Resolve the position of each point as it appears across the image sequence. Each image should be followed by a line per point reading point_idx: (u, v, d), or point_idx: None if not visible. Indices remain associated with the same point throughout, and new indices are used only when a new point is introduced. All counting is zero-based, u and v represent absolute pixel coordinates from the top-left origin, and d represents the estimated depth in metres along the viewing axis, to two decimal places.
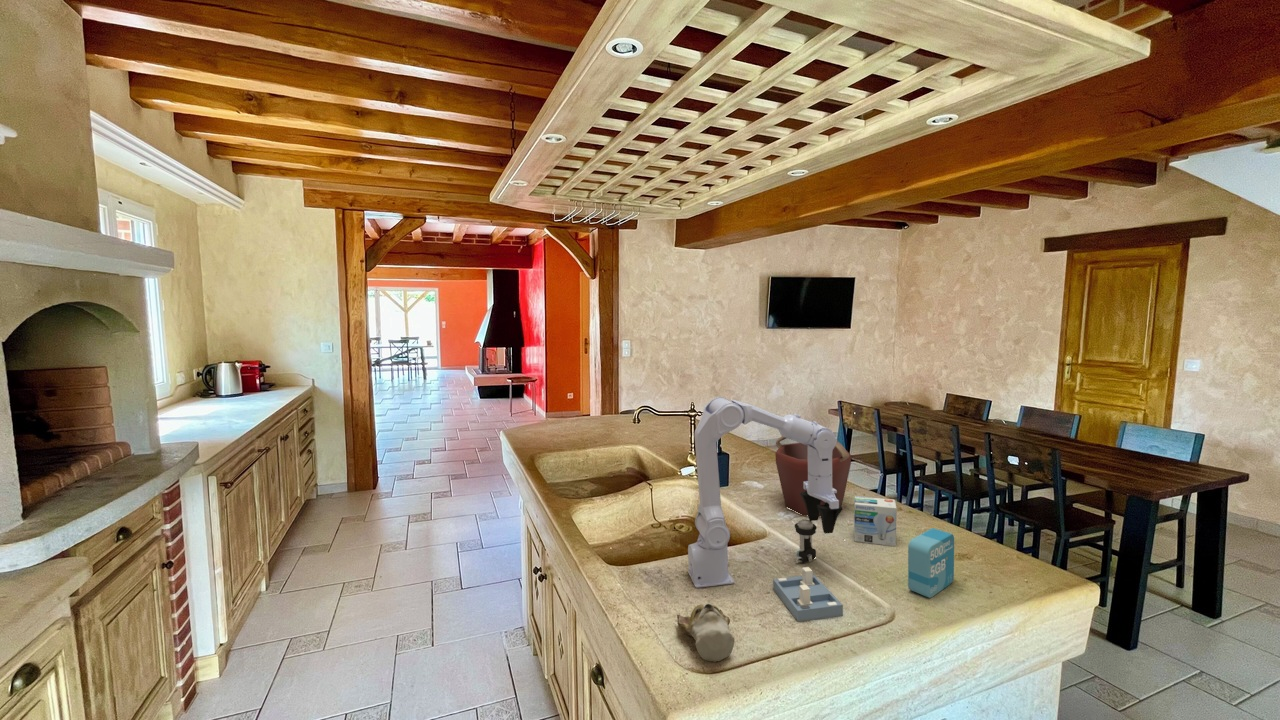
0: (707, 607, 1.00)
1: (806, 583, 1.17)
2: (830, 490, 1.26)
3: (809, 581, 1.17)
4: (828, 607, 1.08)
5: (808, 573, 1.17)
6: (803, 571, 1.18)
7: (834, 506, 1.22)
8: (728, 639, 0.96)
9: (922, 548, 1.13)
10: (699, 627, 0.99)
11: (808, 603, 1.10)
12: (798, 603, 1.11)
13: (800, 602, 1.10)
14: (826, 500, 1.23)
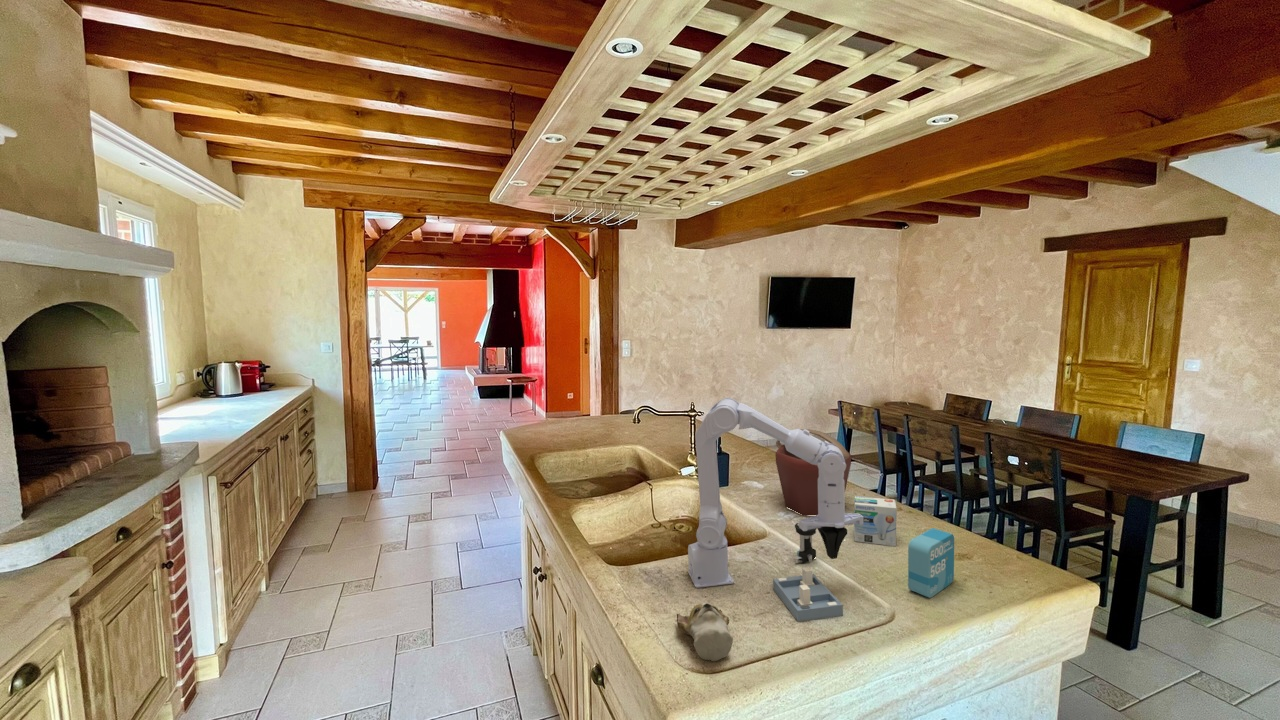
0: (706, 607, 1.00)
1: (806, 583, 1.17)
2: (824, 518, 1.16)
3: (809, 581, 1.17)
4: (828, 607, 1.08)
5: (808, 573, 1.17)
6: (803, 571, 1.18)
7: (801, 526, 1.17)
8: (726, 639, 0.96)
9: (922, 548, 1.13)
10: (697, 626, 0.99)
11: (808, 603, 1.10)
12: (798, 603, 1.11)
13: (800, 602, 1.10)
14: None
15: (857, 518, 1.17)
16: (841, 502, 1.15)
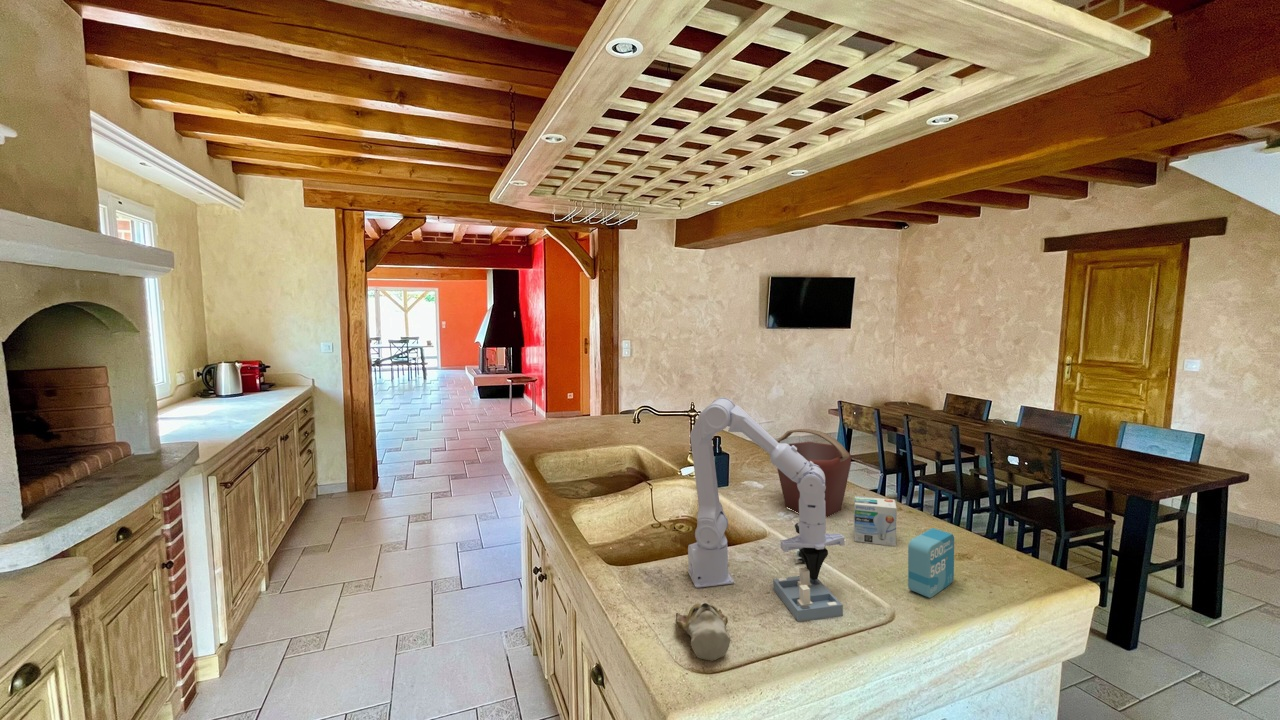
0: (704, 607, 1.01)
1: (803, 583, 1.17)
2: (805, 539, 1.16)
3: (806, 581, 1.17)
4: (828, 607, 1.08)
5: (805, 573, 1.17)
6: (800, 571, 1.18)
7: (781, 547, 1.17)
8: (723, 639, 0.96)
9: (922, 548, 1.13)
10: (695, 626, 0.99)
11: (808, 603, 1.10)
12: (798, 603, 1.11)
13: (800, 602, 1.10)
14: None
15: (838, 539, 1.17)
16: (822, 523, 1.15)
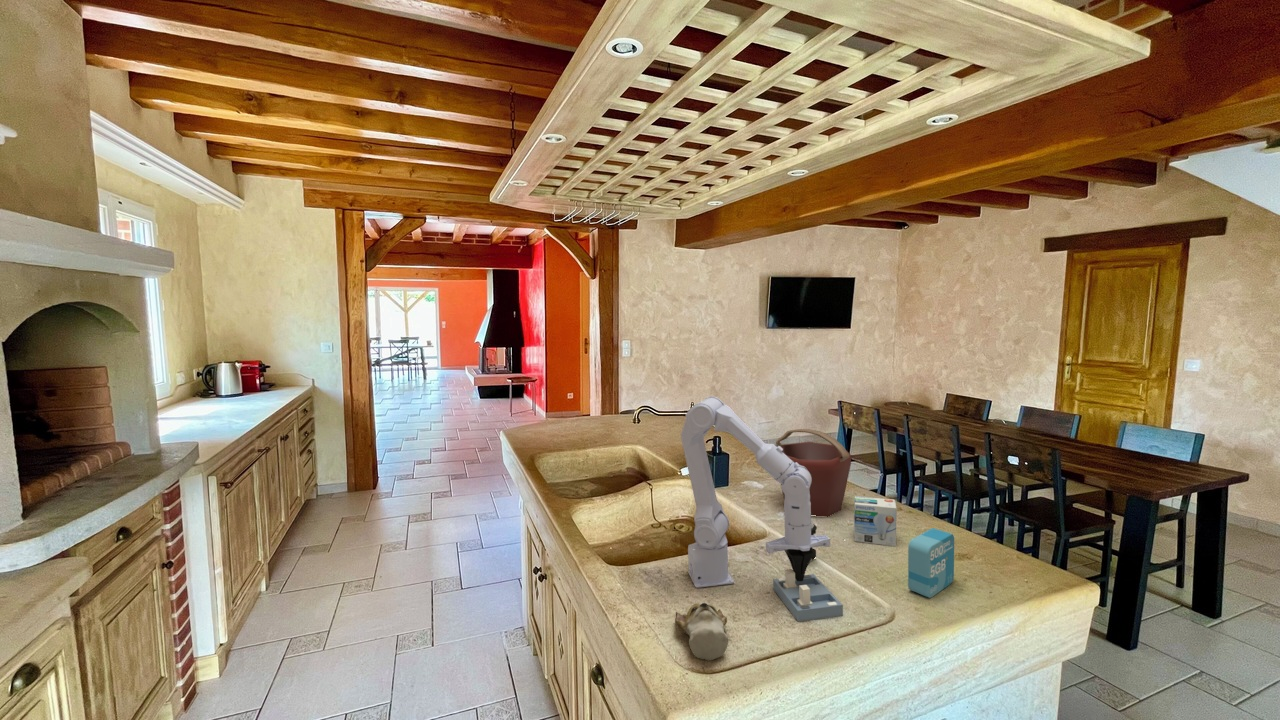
0: (703, 606, 1.01)
1: (789, 585, 1.17)
2: (790, 540, 1.15)
3: (792, 583, 1.17)
4: (828, 607, 1.08)
5: (791, 575, 1.16)
6: (786, 573, 1.18)
7: (767, 548, 1.16)
8: (721, 639, 0.96)
9: (922, 548, 1.13)
10: (693, 625, 0.99)
11: (808, 603, 1.10)
12: (798, 603, 1.11)
13: (800, 602, 1.10)
14: None
15: (823, 541, 1.16)
16: (807, 525, 1.14)
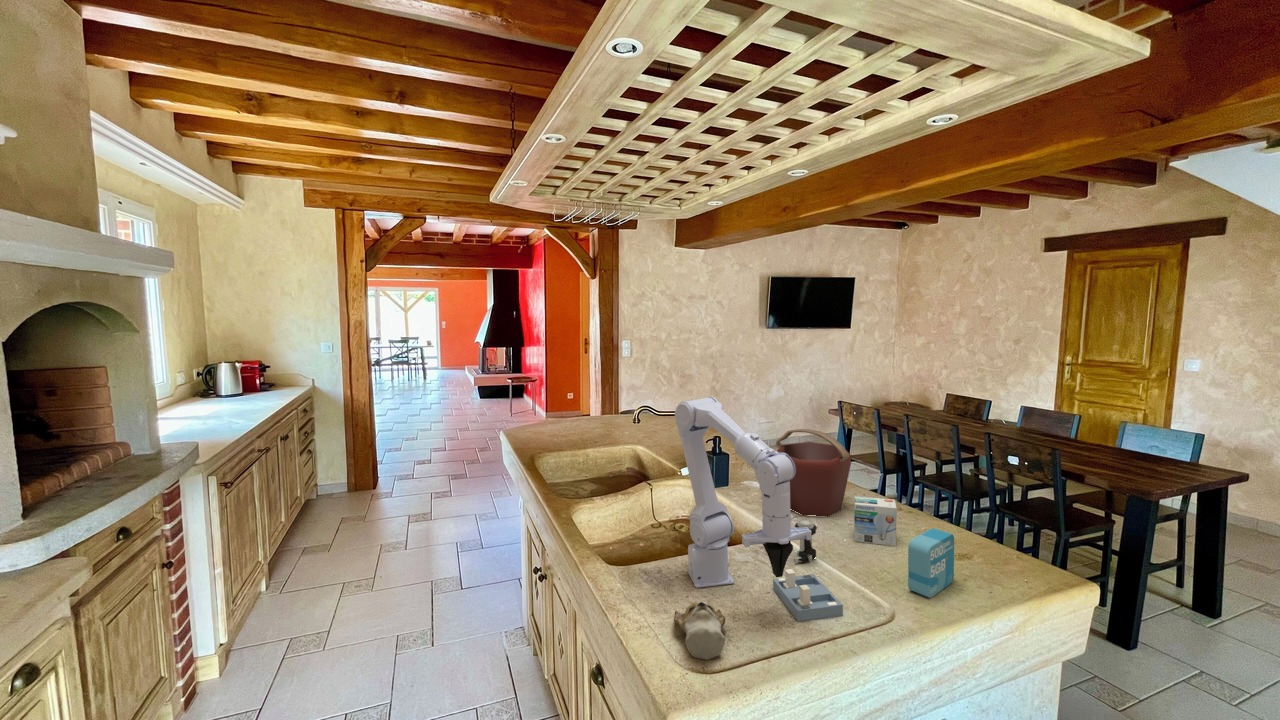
0: (700, 606, 1.01)
1: (789, 585, 1.17)
2: (768, 533, 1.07)
3: (792, 583, 1.17)
4: (828, 607, 1.08)
5: (791, 575, 1.16)
6: (786, 573, 1.18)
7: (743, 542, 1.08)
8: (717, 638, 0.96)
9: (922, 548, 1.13)
10: (690, 624, 1.00)
11: (808, 603, 1.10)
12: (798, 603, 1.11)
13: (800, 602, 1.10)
14: None
15: (804, 533, 1.08)
16: (786, 516, 1.06)
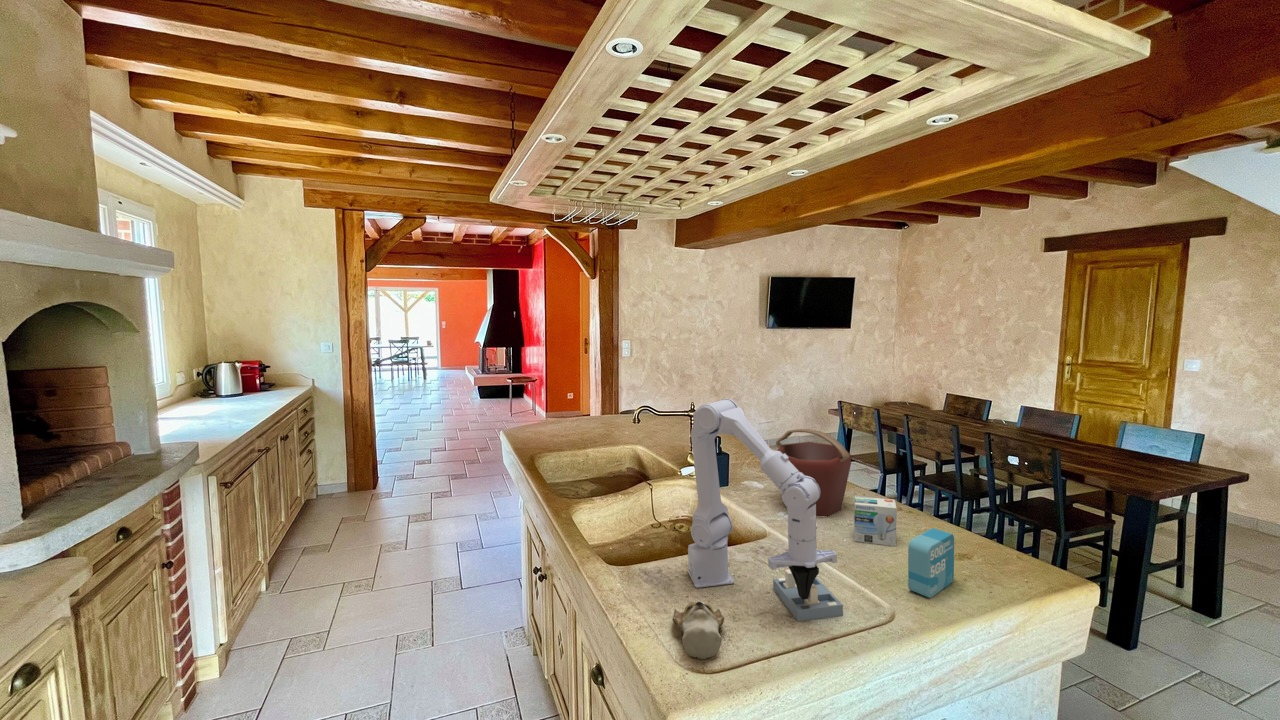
0: (698, 605, 1.01)
1: (789, 585, 1.17)
2: (794, 556, 1.08)
3: (792, 583, 1.17)
4: (828, 607, 1.08)
5: (791, 575, 1.16)
6: (786, 573, 1.18)
7: (769, 564, 1.09)
8: (714, 638, 0.97)
9: (922, 548, 1.13)
10: (687, 623, 1.00)
11: (815, 602, 1.10)
12: (805, 602, 1.11)
13: (807, 601, 1.11)
14: None
15: (829, 556, 1.09)
16: (812, 539, 1.07)
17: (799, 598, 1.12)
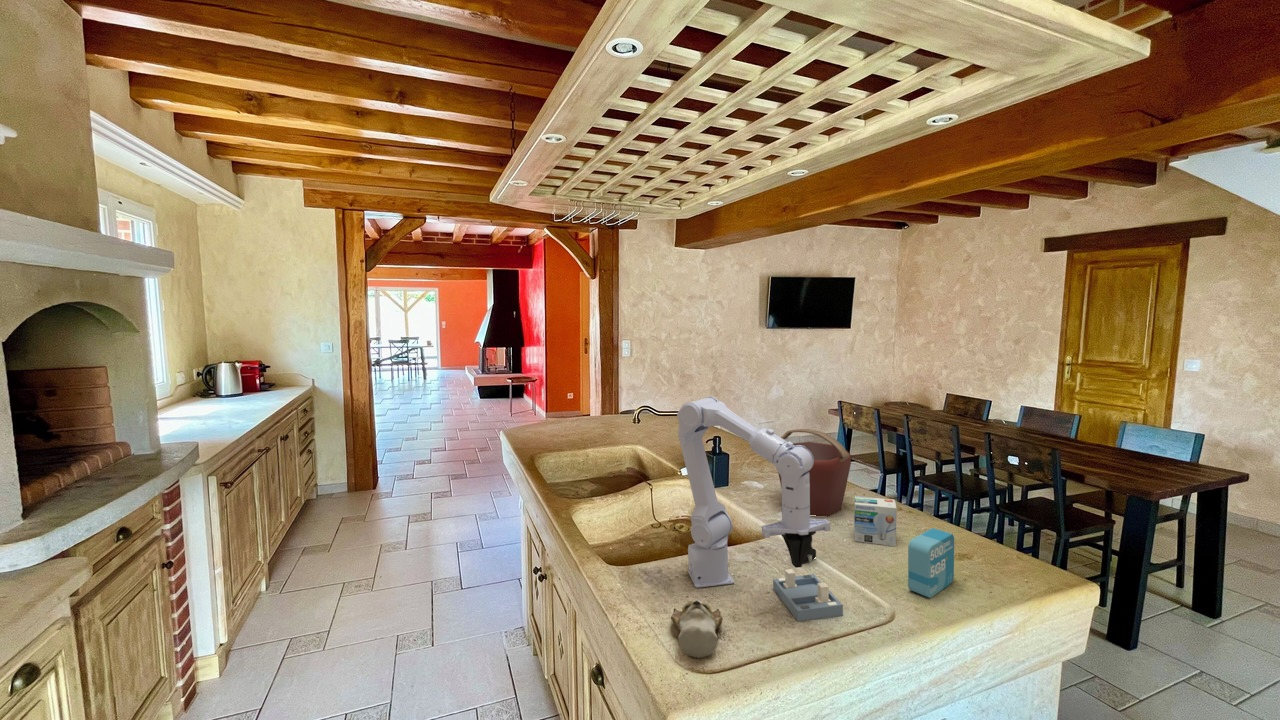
0: (695, 604, 1.01)
1: (789, 585, 1.17)
2: (787, 524, 1.09)
3: (792, 583, 1.17)
4: (828, 607, 1.08)
5: (791, 575, 1.16)
6: (786, 573, 1.18)
7: (763, 533, 1.10)
8: (710, 638, 0.97)
9: (922, 548, 1.13)
10: (684, 622, 1.00)
11: (826, 601, 1.10)
12: (816, 601, 1.11)
13: (818, 600, 1.11)
14: None
15: (823, 525, 1.10)
16: (805, 507, 1.07)
17: (799, 598, 1.12)
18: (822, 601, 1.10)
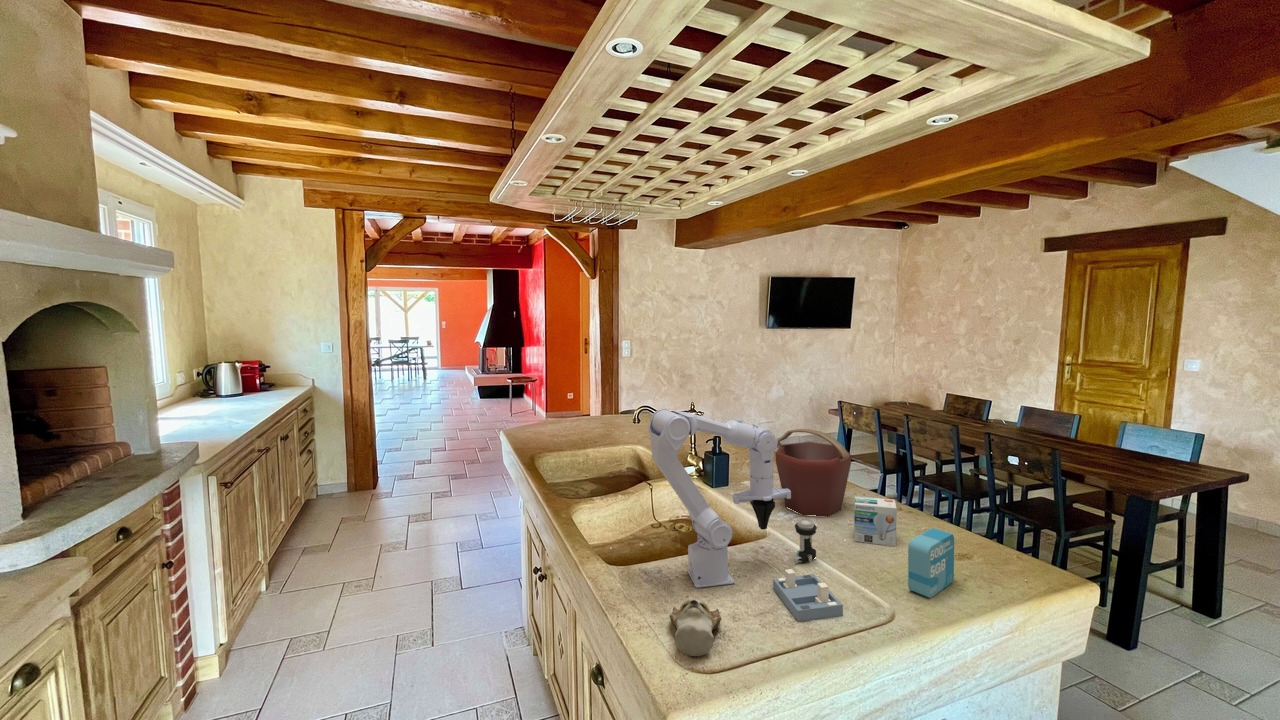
0: (692, 603, 1.02)
1: (789, 585, 1.17)
2: (754, 492, 1.28)
3: (792, 583, 1.17)
4: (828, 607, 1.08)
5: (791, 575, 1.16)
6: (786, 573, 1.18)
7: (733, 500, 1.29)
8: (705, 637, 0.97)
9: (922, 548, 1.13)
10: (681, 621, 1.01)
11: (826, 601, 1.10)
12: (816, 601, 1.11)
13: (818, 600, 1.11)
14: None
15: (784, 493, 1.29)
16: (769, 477, 1.27)
17: (799, 598, 1.12)
18: (822, 601, 1.10)
